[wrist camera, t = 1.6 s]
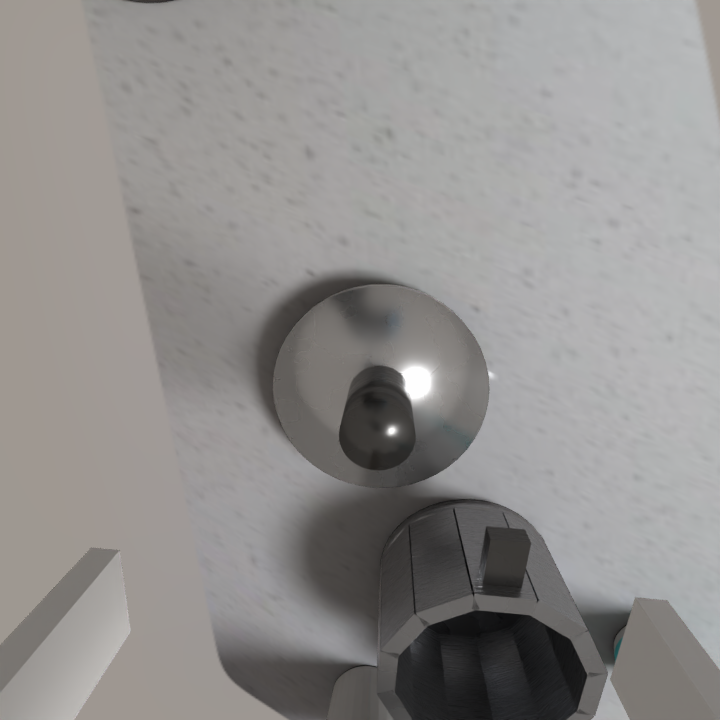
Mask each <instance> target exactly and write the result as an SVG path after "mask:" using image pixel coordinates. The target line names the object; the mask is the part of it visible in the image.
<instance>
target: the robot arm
mask: <svg viewBox="0 0 720 720" xmlns="http://www.w3.org/2000/svg"><path fill="white" fill-rule="evenodd" d="M131 1H138V2H164V1H172V0H131ZM130 631H131V630H130V623H129V616H128V608H127V600H126V593H125V585H124V578H123V571H122V563H121V556H120V550H112V549H101V548H91V549H90V550H89V551H88V552H87V553H86V554H85V555H84V556H83V557H82V558H81V559H80V560H79V561H78V562H77V564H76V565H75V566H74V567H73V568H72V569H71V570H70V571H69V572H68V573H67V574H66V575H65V576H64V577H63V578H62V580H61V581H60V582H59V583H58V584H57V585H56V586H55V587H54V588H53V589H52V590H51V591H50V592H49V593H48V594H47V596H46V597H45V598H44V599H43V600H42V601H41V602H40V603H39V604H38V605H37V606H36V607H35V609H34V610H33V611H32V612H31V613H30V614H29V615H28V616H27V617H26V618H25V619H24V620H23V621H22V622H21V624H19V626H18V627H17V628H16V629H15V630H14V631H13V632H12V633H11V634H10V635H9V636H8V637H7V638H6V640H4V642H3V643H2V644H1V645H0V720H74V719H75V717H76V716H77V714H78V713H79V711H80V710H81V708H82V706H83V705H84V703H85V702H86V700H87V698H88V697H89V696H90V694H91V693H92V691H93V689H94V688H95V686H96V685H97V683H98V681H99V680H100V678H101V677H102V675H103V674H104V672H105V671H106V669H107V668H108V666H109V664H110V663H111V661H112V660H113V658H114V656H115V655H116V654H117V652H118V650H119V649H120V647H121V646H122V644H123V643H124V641H125V639H126V638H127V636H128V635H129V633H130ZM610 680H611V682H612V684H613V686H614V688H615V690H616V692H617V694H618V696H619V698H620V700H621V702H622V704H623V706H624V708H625V710H626V712H627V715H628V717H629V719H630V720H720V670H719V669H718V667H717V666H716V665H715V663H714V662H713V661H712V659H711V658H710V657H709V655H708V654H707V653H706V651H705V650H704V649H703V647H702V646H701V645H700V643H699V642H698V641H697V639H696V638H695V637H694V635H693V634H692V633H691V631H690V630H689V629H688V627H687V626H686V625H685V624H684V622H683V621H682V620H681V618H680V617H679V616H678V614H677V613H676V612H675V610H674V609H673V608H672V606H671V605H670V604H669V602H668V601H667V600H657V599H646V598H635V600H634V603H633V606H632V610H631V613H630V616H629V619H628V623H627V626H626V629H625V633H624V636H623V639H622V642H621V646H620V649H619V652H618V655H617V659H616V662H615V665H614V668H613V672H612V675H611V678H610Z"/></svg>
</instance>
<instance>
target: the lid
mask: <svg viewBox="0 0 720 720" xmlns="http://www.w3.org/2000/svg"><path fill="white" fill-rule="evenodd" d="M273 396H274V403H275V408H276V412H277V415H278V418H279V421H280V423H281V426H282V428H283V429H284V431H285V433H286V435H287V437H288V438H289V440H290V441H291V443H292V444H293V445H294V447H295V448H296V449H297V450H298V451H299V452H300V453H301V454H302V456H303V457H305V458H306V459H307V460H308V461H309V462H310V463H312V464H313V465H314V466H316V467H317V468H319V469H320V470H322V471H323V472H325V473H327V474H329V475H331V476H332V477H334V478H337V479H339V480H342V481H345V482H347V483H351V484H355V485H359V486H366V487H375V488H389V487H400V486H404V485H409V484H413V483H416V482H419V481H422V480H425V479H427V478H429V477H432V476H434V475H436V474H438V473H439V472H441V471H442V470H444V469H446V468H447V467H448V466H450V465H451V464H452V463H453V462H455V461H456V460H457V459H458V458H459V457H460V456H461V455H462V454H463V453H464V452H465V451H466V450H467V448H468V447H469V446H470V444H471V443H472V442H473V440H474V439H475V437H476V435H477V433H478V432H479V430H480V428H481V425H482V423H483V420H484V417H485V415H486V410H487V406H488V399H489V376H488V371H487V366H486V362H485V359H484V356H483V353H482V351H481V348H480V346H479V345H478V343H477V341H476V339H475V337H474V336H473V334H472V333H471V332H470V330H469V329H468V328H467V326H466V325H465V323H464V322H463V321H462V320H461V319H460V318H459V317H458V316H457V315H456V314H455V313H454V312H453V311H452V310H451V309H450V308H448V307H447V306H446V305H444V304H443V303H442V302H440V301H438V300H437V299H435V298H433V297H431V296H430V295H428V294H425V293H423V292H420V291H418V290H415V289H412V288H408V287H404V286H399V285H391V284H369V285H362V286H356V287H353V288H349V289H346V290H343V291H340V292H338V293H336V294H333V295H331V296H329V297H327V298H326V299H324V300H322V301H321V302H319V303H318V304H316V305H315V306H314V307H313V308H311V309H310V310H309V311H308V312H307V313H306V314H305V315H304V316H303V317H302V318H301V319H300V320H299V321H298V322H297V323H296V324H295V326H294V327H293V328H292V330H291V331H290V333H289V334H288V335H287V337H286V339H285V341H284V343H283V345H282V347H281V349H280V351H279V354H278V357H277V360H276V364H275V369H274V374H273Z"/></svg>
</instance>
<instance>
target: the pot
mask: <svg viewBox="0 0 720 720" xmlns="http://www.w3.org/2000/svg"><path fill="white" fill-rule="evenodd" d="M607 676H608V672H607V670H606V668H605V666H604V663H603V661H602V659H601V657H600V655H599V652H598V650H597V648H596V646H595V644H594V641H593V639H592V637H591V635H590V633H589V631H588V629H587V627H586V625H585V623H584V621H583V618H582V616H581V614H580V612H579V610H578V608H577V606H576V604H575V602H574V600H573V598H572V596H571V594H570V592H569V590H568V588H567V586H566V584H565V582H564V580H563V578H562V576H561V574H560V572H559V570H558V568H557V566H556V564H555V562H554V560H553V558H552V556H551V554H550V552H549V550H548V548H547V546H546V544H545V542H544V540H543V538H542V536H541V535H540V534H539V533H538V532H537V530H536V529H535V528H534V527H533V526H532V525H531V524H530V523H529V522H528V521H527V520H526V519H524V518H523V517H522V516H520V515H519V514H517V513H516V512H514V511H512V510H510V509H508V508H506V507H503V506H500V505H498V504H494V503H490V502H486V501H479V500H452V501H446V502H441V503H438V504H435V505H431V506H429V507H426V508H424V509H422V510H420V511H418V512H416V513H415V514H413V515H411V516H410V517H409V518H407V519H406V520H405V521H403V522H402V523H401V524H400V525H399V526H398V527H397V528H396V529H395V531H394V532H393V533H392V535H391V536H390V537H389V539H388V541H387V543H386V545H385V548H384V551H383V554H382V558H381V572H380V585H379V611H378V651H377V691H376V693H377V695H378V697H379V698H380V700H381V701H382V703H383V704H384V706H385V707H386V709H387V710H388V712H389V714H390V715H391V717H392V718H393V720H591V719H592V718H593V717H594V716H595V714H596V711H597V708H598V704H599V701H600V698H601V695H602V692H603V688H604V685H605V682H606V679H607ZM593 715H594V716H593Z"/></svg>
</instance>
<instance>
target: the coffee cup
mask: <svg viewBox="0 0 720 720" xmlns="http://www.w3.org/2000/svg"><path fill="white" fill-rule="evenodd" d="M376 691H377V667H372V666H360V667H356V668H352V669H350V670H348V671H346V672H345V673H344V674H342V675H341V676H340V677H339V678H338V679H337V681H336V683H335V685H334V688H333V692H332V697H331V701H330V706H329V710H328V715H327V719H326V720H393V718H392V717H391V715H390V714H389V712H388V710H387V709H386V707H385V706H384V704H383V703H382V701H381V700H380V698H379V697H378V695H377V693H376Z"/></svg>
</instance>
